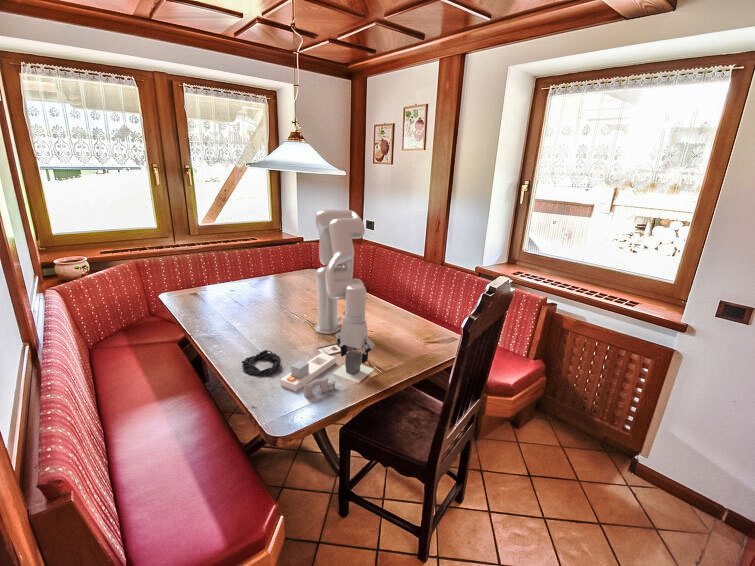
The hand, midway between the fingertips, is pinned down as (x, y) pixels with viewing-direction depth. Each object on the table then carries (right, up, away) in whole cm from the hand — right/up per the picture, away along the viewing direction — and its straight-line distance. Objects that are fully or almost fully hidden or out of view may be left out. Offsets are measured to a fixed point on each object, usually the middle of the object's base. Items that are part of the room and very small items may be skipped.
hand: (353, 358), depth 144 cm
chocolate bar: (-8, 0, +20) cm, 22 cm away
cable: (-36, -4, +2) cm, 37 cm away
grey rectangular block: (0, -5, +1) cm, 6 cm away
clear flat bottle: (-11, -10, -13) cm, 20 cm away
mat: (0, -6, +2) cm, 6 cm away
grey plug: (-19, -7, -6) cm, 22 cm away
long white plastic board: (-17, -6, -1) cm, 18 cm away
